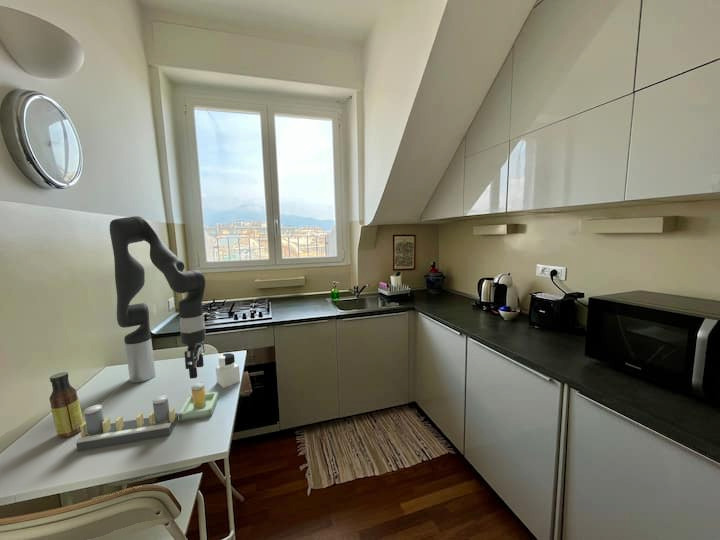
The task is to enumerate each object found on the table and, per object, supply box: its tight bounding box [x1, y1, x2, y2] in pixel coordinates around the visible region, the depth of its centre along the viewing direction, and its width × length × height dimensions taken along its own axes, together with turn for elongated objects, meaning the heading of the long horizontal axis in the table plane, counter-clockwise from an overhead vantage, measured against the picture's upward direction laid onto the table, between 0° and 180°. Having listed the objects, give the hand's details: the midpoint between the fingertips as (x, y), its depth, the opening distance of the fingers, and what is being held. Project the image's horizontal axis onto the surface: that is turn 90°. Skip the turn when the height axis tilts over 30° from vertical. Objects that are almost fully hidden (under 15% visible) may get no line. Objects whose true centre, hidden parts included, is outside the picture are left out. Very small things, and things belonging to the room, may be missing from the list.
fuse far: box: [152, 394, 170, 425], centre depth 95 cm, size 4×4×8 cm
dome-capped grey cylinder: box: [83, 404, 105, 436], centre depth 90 cm, size 4×4×8 cm
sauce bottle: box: [49, 371, 84, 438], centre depth 94 cm, size 7×6×20 cm
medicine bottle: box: [215, 352, 241, 389], centre depth 124 cm, size 7×7×12 cm
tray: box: [178, 391, 220, 422], centre depth 106 cm, size 12×10×2 cm
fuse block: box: [75, 407, 179, 452], centre depth 93 cm, size 8×24×6 cm, turn 104°
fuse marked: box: [190, 382, 206, 410], centre depth 106 cm, size 4×4×8 cm
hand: (197, 372), depth 105 cm, fingers open, 8 cm apart
